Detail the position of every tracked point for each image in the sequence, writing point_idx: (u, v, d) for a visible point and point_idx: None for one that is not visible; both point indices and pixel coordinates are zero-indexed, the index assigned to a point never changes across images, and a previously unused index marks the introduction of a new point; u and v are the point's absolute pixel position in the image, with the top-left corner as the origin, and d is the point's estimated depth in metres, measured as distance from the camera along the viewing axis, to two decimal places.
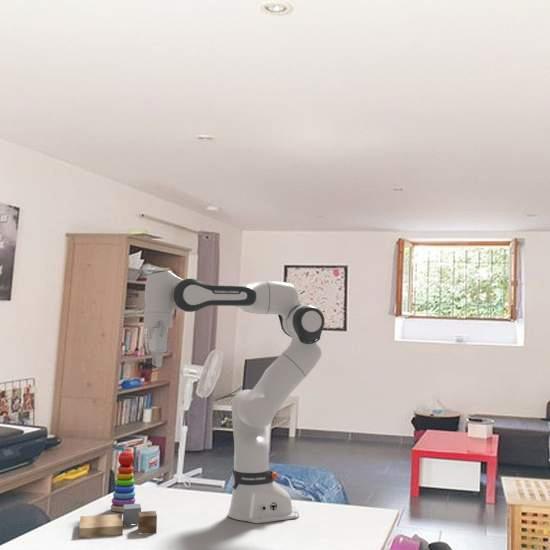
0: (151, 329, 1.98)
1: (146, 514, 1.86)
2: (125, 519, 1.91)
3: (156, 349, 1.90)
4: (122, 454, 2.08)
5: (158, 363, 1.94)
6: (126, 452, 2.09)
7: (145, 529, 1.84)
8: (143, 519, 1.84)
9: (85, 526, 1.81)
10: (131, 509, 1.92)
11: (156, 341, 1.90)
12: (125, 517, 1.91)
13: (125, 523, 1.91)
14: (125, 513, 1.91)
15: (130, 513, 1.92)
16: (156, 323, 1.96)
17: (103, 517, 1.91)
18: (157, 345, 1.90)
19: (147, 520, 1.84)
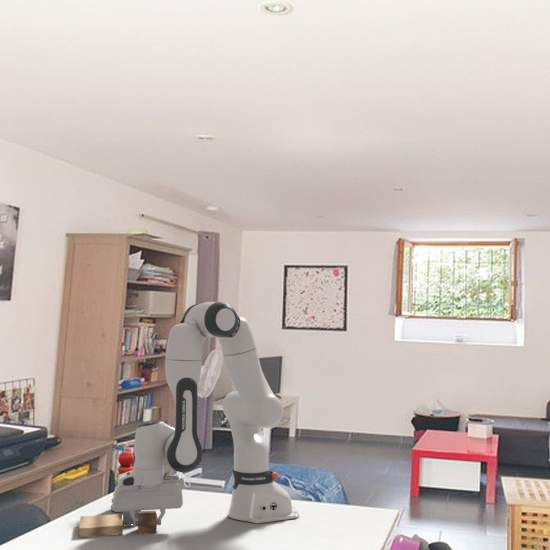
0: (156, 486, 1.86)
1: (146, 514, 1.86)
2: (125, 519, 1.91)
3: None
4: (122, 454, 2.08)
5: None
6: (126, 452, 2.09)
7: (145, 528, 1.84)
8: (143, 518, 1.84)
9: (85, 526, 1.81)
10: None
11: None
12: (125, 517, 1.91)
13: (125, 523, 1.91)
14: (125, 513, 1.91)
15: None
16: (163, 478, 1.88)
17: (103, 517, 1.91)
18: None
19: (147, 520, 1.84)
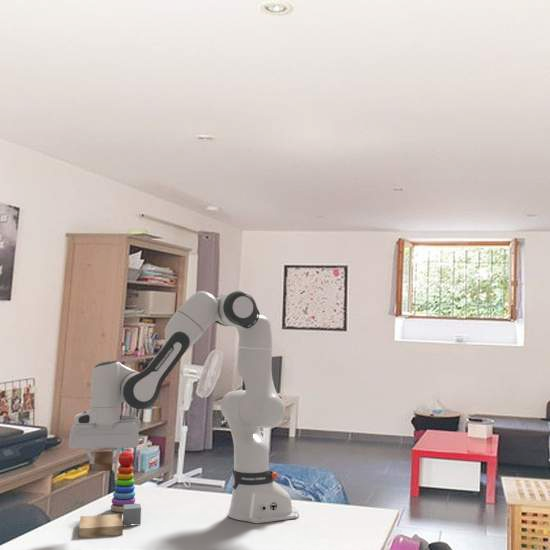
0: (112, 425, 1.88)
1: (102, 452, 1.88)
2: (125, 519, 1.91)
3: (138, 444, 1.90)
4: (122, 454, 2.08)
5: None
6: (126, 452, 2.09)
7: (100, 466, 1.86)
8: (98, 456, 1.86)
9: (85, 526, 1.81)
10: (131, 509, 1.92)
11: (138, 436, 1.90)
12: (125, 517, 1.91)
13: (125, 523, 1.91)
14: (125, 513, 1.91)
15: (130, 513, 1.92)
16: (119, 417, 1.90)
17: (103, 517, 1.91)
18: (138, 440, 1.91)
19: (103, 457, 1.86)
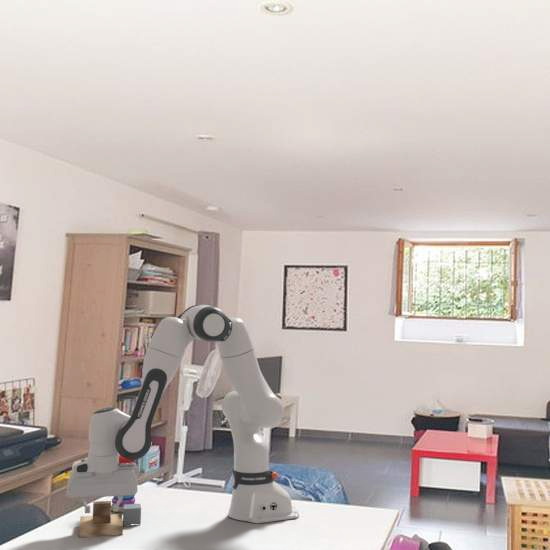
0: (110, 473, 1.87)
1: (101, 504, 1.86)
2: (125, 519, 1.91)
3: (136, 491, 1.89)
4: None
5: (118, 507, 1.88)
6: None
7: (99, 518, 1.85)
8: (97, 508, 1.85)
9: (85, 526, 1.81)
10: (131, 509, 1.92)
11: (136, 483, 1.89)
12: (125, 517, 1.91)
13: (125, 523, 1.91)
14: (125, 513, 1.91)
15: (130, 513, 1.92)
16: (118, 465, 1.89)
17: None
18: None
19: (101, 510, 1.85)
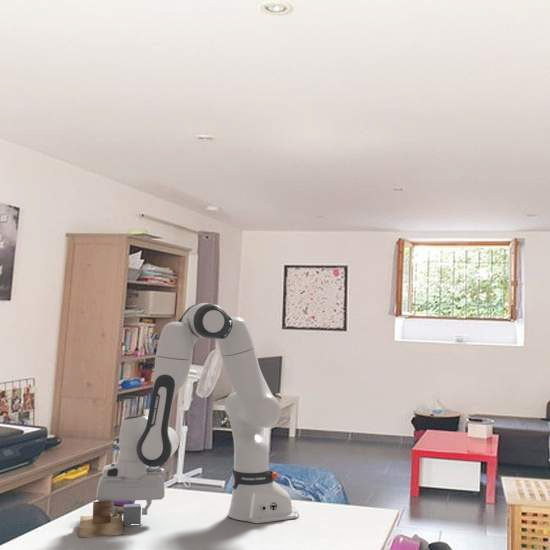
0: (139, 478, 1.93)
1: (101, 504, 1.86)
2: (125, 519, 1.91)
3: (163, 496, 1.95)
4: None
5: None
6: None
7: (99, 518, 1.85)
8: (97, 508, 1.85)
9: (85, 526, 1.81)
10: (131, 509, 1.92)
11: None
12: (125, 517, 1.91)
13: (125, 523, 1.91)
14: (125, 513, 1.91)
15: (130, 513, 1.92)
16: (146, 470, 1.95)
17: None
18: None
19: (101, 510, 1.85)
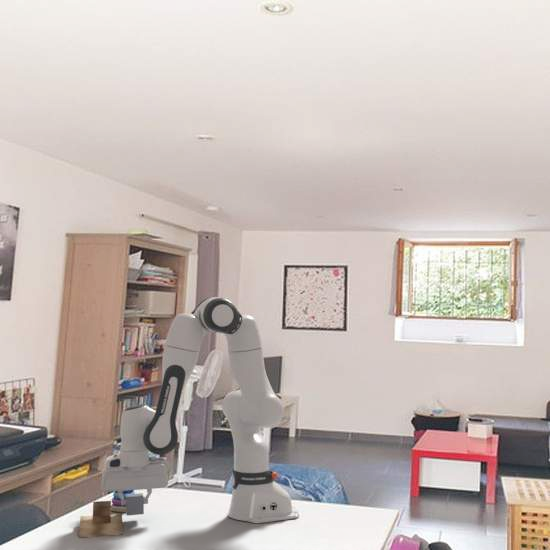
0: (142, 467, 1.95)
1: (101, 504, 1.86)
2: (128, 508, 1.93)
3: (167, 484, 1.97)
4: None
5: None
6: None
7: (99, 518, 1.85)
8: (97, 508, 1.85)
9: (85, 526, 1.81)
10: (134, 498, 1.94)
11: (167, 477, 1.97)
12: (128, 507, 1.93)
13: (128, 512, 1.93)
14: (128, 503, 1.93)
15: (133, 502, 1.93)
16: (149, 459, 1.97)
17: None
18: (167, 480, 1.97)
19: (101, 510, 1.85)
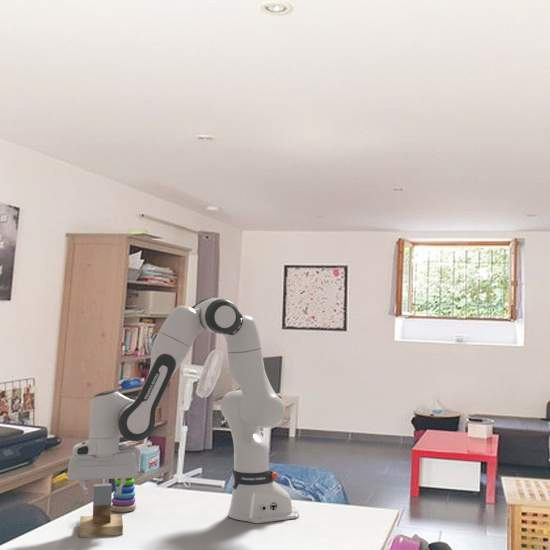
0: (111, 455, 1.87)
1: None
2: (95, 499, 1.85)
3: (137, 474, 1.89)
4: None
5: (121, 489, 1.89)
6: None
7: (99, 518, 1.85)
8: (97, 508, 1.85)
9: (85, 526, 1.81)
10: (101, 488, 1.86)
11: (137, 466, 1.90)
12: (95, 497, 1.85)
13: (95, 503, 1.85)
14: (95, 492, 1.85)
15: (100, 492, 1.86)
16: (118, 448, 1.89)
17: None
18: (137, 470, 1.90)
19: (101, 510, 1.85)
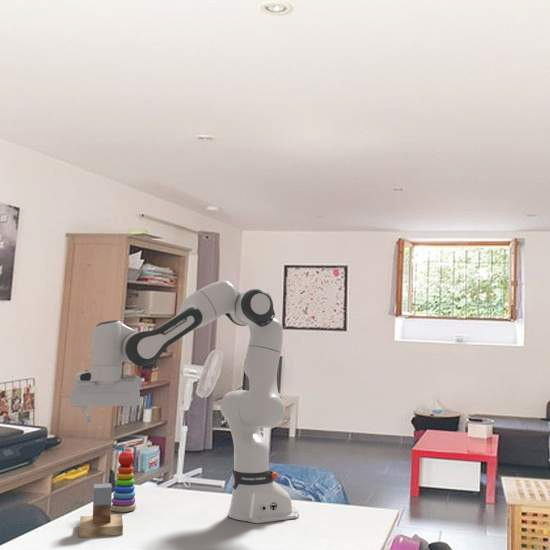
0: (113, 383, 1.89)
1: None
2: (95, 499, 1.85)
3: (139, 402, 1.91)
4: (122, 454, 2.08)
5: (123, 417, 1.91)
6: (126, 452, 2.09)
7: (99, 518, 1.85)
8: (97, 508, 1.85)
9: (85, 526, 1.81)
10: (101, 488, 1.86)
11: (139, 394, 1.91)
12: (95, 497, 1.85)
13: (95, 503, 1.85)
14: (95, 492, 1.85)
15: (100, 492, 1.86)
16: (121, 376, 1.91)
17: None
18: (139, 398, 1.92)
19: (101, 510, 1.85)
